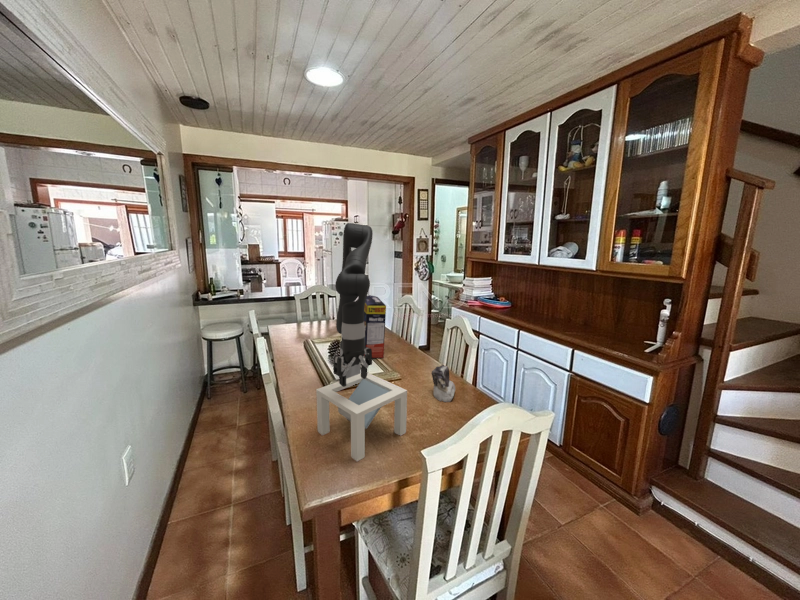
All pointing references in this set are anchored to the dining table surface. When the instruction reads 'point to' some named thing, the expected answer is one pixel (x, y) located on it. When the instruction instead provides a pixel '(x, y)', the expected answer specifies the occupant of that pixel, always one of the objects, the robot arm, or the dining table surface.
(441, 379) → the stone
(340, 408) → the white rounded cylinder
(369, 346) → the cereal box
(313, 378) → the dining table surface
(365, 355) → the robot arm
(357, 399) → the trapdoor
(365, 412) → the stand
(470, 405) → the dining table surface
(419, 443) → the dining table surface
